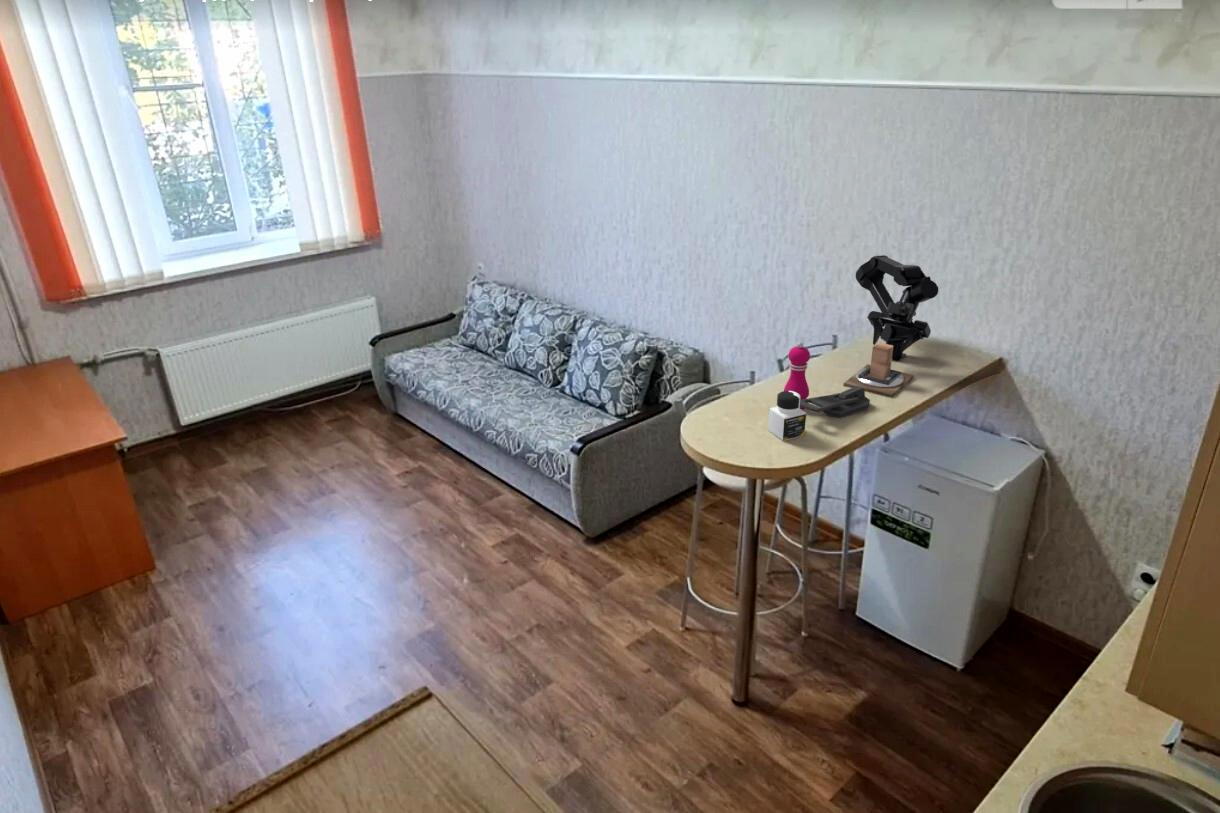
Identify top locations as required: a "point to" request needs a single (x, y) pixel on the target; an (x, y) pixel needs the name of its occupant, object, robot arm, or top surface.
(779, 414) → the medicine bottle
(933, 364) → the top surface
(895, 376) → the rosette plate
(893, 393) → the walnut board
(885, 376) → the tan wooden block
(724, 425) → the top surface
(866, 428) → the top surface
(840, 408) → the zipper pull
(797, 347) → the pepper mill
